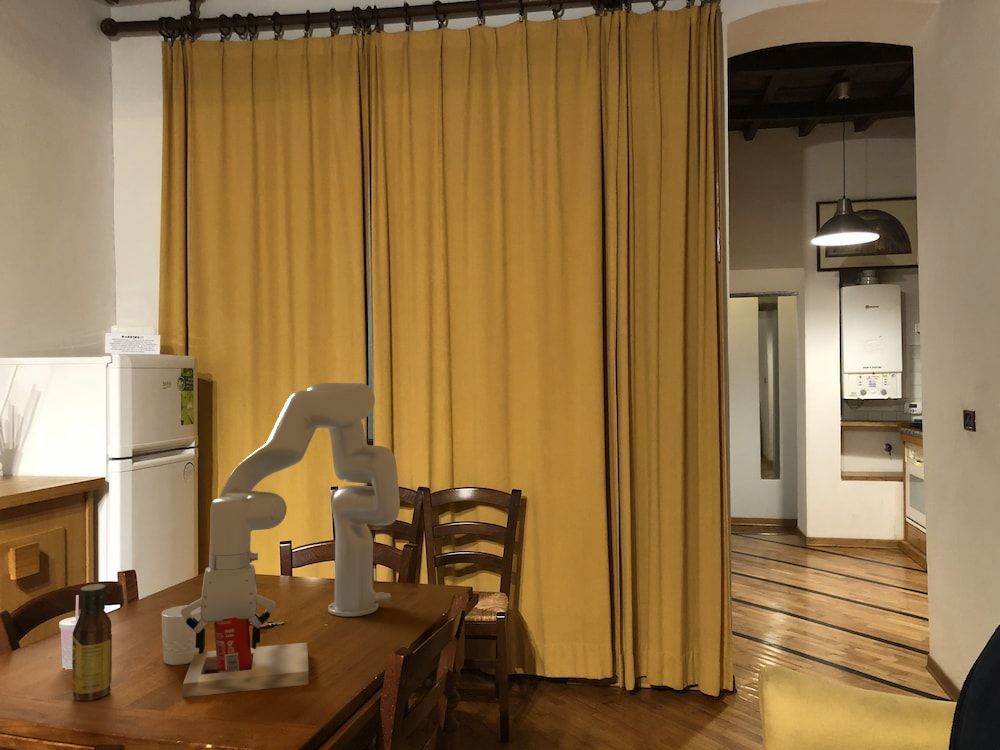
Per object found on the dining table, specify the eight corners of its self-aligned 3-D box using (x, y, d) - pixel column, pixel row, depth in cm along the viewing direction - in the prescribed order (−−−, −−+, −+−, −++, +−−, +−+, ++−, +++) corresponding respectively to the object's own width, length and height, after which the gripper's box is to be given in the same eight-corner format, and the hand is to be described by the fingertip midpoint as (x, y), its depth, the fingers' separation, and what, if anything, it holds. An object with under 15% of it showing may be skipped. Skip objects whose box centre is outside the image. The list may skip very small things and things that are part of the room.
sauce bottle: (82, 688, 131) (85, 581, 132) (117, 688, 132) (119, 581, 132) (63, 704, 125) (66, 591, 125) (100, 703, 125) (103, 590, 126)
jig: (306, 654, 150) (306, 642, 150) (308, 684, 134) (308, 671, 134) (194, 664, 143) (194, 652, 144) (182, 697, 128) (182, 683, 128)
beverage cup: (96, 665, 143) (98, 595, 143) (62, 673, 138) (63, 601, 139) (88, 657, 147) (90, 589, 147) (54, 664, 143) (56, 595, 143)
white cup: (210, 655, 149) (211, 607, 149) (182, 668, 141) (183, 618, 142) (180, 650, 151) (181, 603, 152) (151, 663, 144) (152, 614, 144)
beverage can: (257, 666, 141) (253, 606, 141) (243, 680, 135) (239, 617, 135) (227, 667, 142) (222, 608, 142) (212, 681, 135) (207, 619, 135)
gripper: (276, 554, 144) (275, 638, 144) (184, 559, 140) (183, 646, 139) (275, 562, 137) (274, 651, 137) (179, 568, 132) (177, 660, 132)
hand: (228, 648), depth 138 cm, fingers open, 9 cm apart
